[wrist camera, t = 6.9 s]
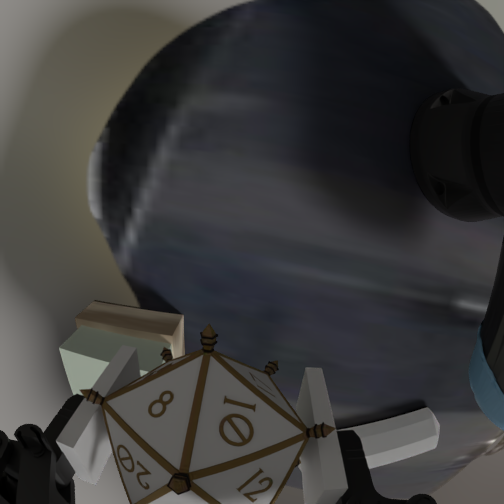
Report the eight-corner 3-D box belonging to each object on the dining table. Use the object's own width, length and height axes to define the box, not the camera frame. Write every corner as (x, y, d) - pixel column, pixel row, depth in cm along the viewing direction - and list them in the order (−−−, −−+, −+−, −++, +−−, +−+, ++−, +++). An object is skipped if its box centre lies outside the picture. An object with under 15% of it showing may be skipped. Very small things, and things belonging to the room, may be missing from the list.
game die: (207, 358, 17) (87, 463, 11) (198, 245, 12) (-9, 390, 6) (335, 437, 13) (221, 575, 7) (407, 352, 8) (210, 630, 2)
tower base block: (94, 299, 33) (74, 317, 29) (184, 313, 33) (172, 335, 28) (108, 373, 37) (94, 394, 32) (187, 389, 37) (179, 414, 32)
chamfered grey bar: (449, 407, 32) (293, 445, 34) (447, 447, 30) (297, 485, 32) (429, 398, 39) (292, 428, 41) (428, 434, 37) (296, 464, 39)
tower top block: (81, 325, 29) (59, 347, 24) (171, 343, 29) (157, 373, 24) (98, 394, 32) (82, 419, 27) (176, 414, 32) (166, 443, 27)
